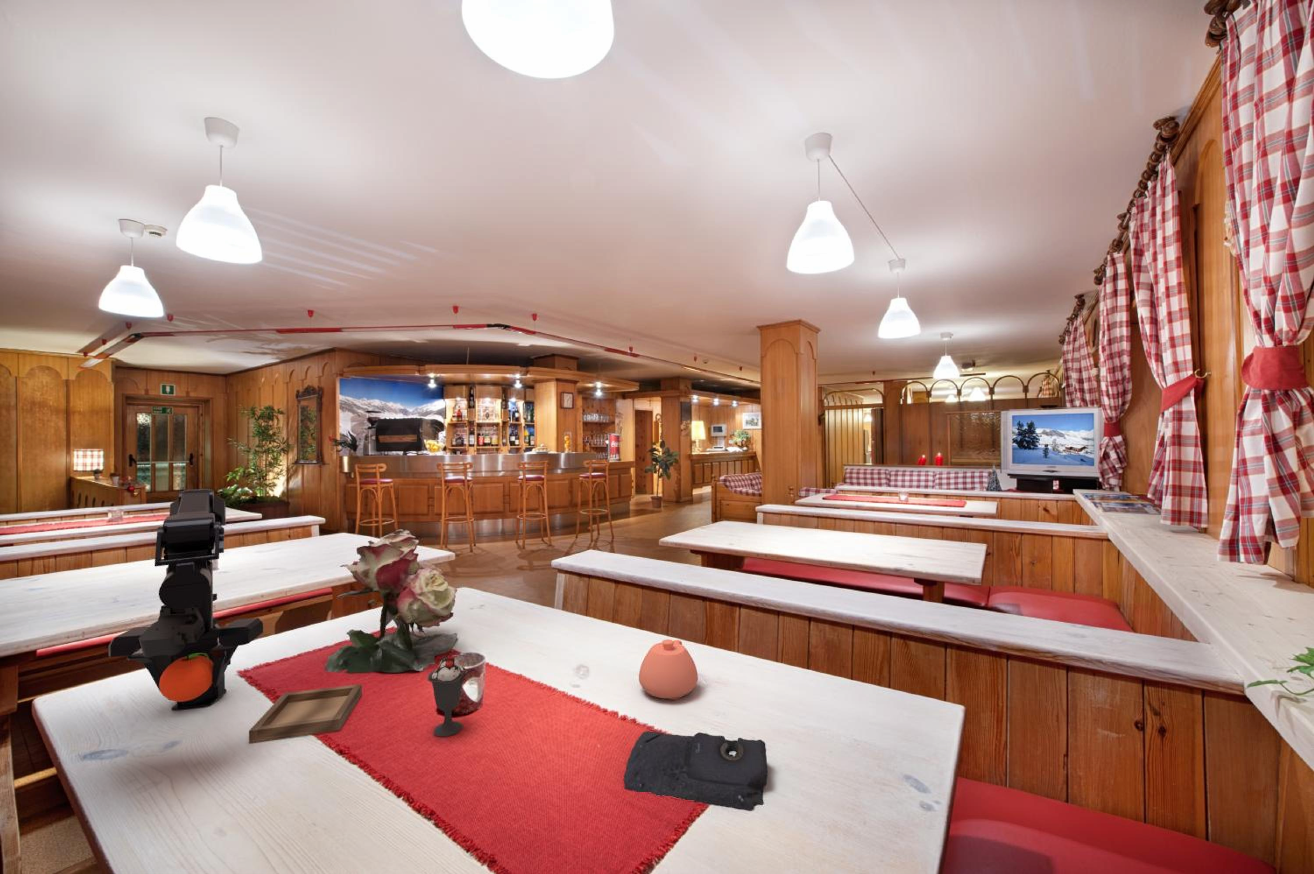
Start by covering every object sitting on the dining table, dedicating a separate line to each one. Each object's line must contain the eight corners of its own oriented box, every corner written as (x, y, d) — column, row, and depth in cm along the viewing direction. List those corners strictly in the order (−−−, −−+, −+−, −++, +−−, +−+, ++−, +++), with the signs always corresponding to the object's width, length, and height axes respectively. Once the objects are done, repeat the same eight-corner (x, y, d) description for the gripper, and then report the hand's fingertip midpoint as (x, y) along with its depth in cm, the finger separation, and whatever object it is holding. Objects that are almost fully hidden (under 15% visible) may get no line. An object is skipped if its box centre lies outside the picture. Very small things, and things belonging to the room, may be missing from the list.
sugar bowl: (629, 698, 105) (628, 647, 105) (655, 669, 118) (655, 624, 118) (686, 709, 101) (686, 656, 101) (707, 678, 114) (707, 631, 114)
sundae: (454, 741, 90) (454, 655, 91) (420, 737, 92) (419, 652, 92) (475, 721, 97) (474, 640, 97) (442, 717, 98) (442, 638, 98)
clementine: (187, 687, 90) (187, 645, 90) (230, 684, 90) (230, 643, 90) (146, 711, 82) (146, 665, 82) (194, 708, 82) (194, 663, 82)
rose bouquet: (441, 674, 117) (440, 540, 117) (312, 674, 117) (311, 541, 117) (481, 631, 143) (480, 522, 143) (375, 632, 143) (374, 522, 143)
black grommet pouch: (642, 736, 92) (642, 709, 93) (769, 752, 87) (769, 724, 87) (615, 793, 78) (615, 761, 78) (766, 817, 72) (766, 782, 72)
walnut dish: (249, 742, 91) (249, 730, 91) (283, 703, 104) (283, 693, 104) (339, 730, 94) (339, 718, 94) (361, 694, 108) (361, 684, 108)
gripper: (79, 614, 76) (79, 722, 76) (229, 603, 80) (230, 704, 80) (134, 592, 87) (134, 686, 87) (264, 584, 91) (264, 673, 91)
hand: (190, 688), depth 86 cm, fingers closed on clementine, 7 cm apart
